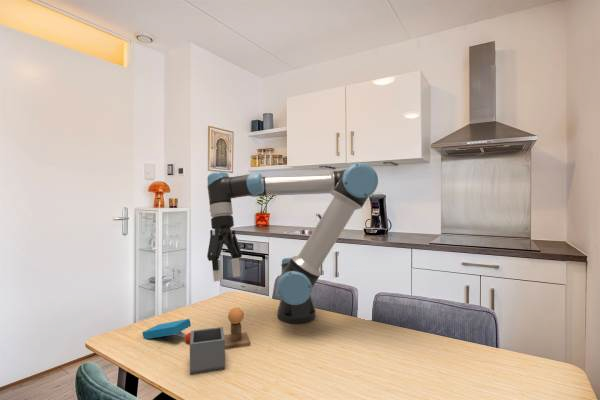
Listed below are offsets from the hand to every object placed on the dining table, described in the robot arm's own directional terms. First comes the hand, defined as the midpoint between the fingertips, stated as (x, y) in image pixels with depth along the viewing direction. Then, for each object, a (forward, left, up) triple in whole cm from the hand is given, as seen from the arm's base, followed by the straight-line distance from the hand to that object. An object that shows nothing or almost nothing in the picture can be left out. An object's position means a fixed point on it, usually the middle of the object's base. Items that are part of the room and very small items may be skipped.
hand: (228, 278), depth 104 cm
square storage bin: (+7, +15, -20) cm, 26 cm away
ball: (-2, +4, -11) cm, 12 cm away
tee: (-2, +4, -20) cm, 20 cm away
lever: (+18, -5, -20) cm, 27 cm away
